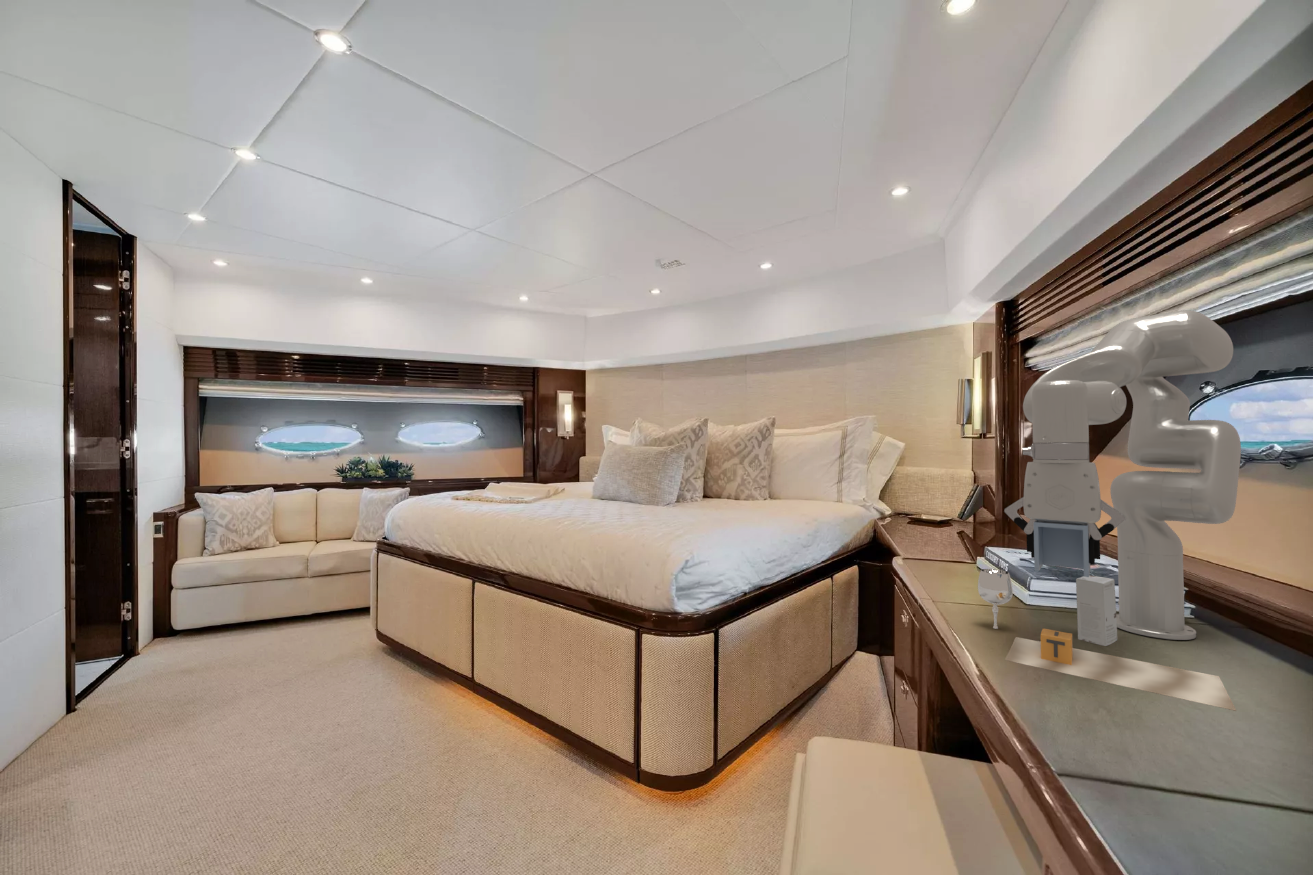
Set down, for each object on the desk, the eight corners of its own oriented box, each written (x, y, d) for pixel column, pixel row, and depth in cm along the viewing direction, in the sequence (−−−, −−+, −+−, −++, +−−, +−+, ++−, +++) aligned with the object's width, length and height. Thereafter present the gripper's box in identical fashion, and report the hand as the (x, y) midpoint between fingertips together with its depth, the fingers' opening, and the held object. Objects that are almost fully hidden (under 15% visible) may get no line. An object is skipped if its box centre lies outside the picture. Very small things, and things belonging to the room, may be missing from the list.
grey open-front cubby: (1039, 563, 93) (1038, 518, 93) (1090, 569, 88) (1089, 521, 88) (1034, 570, 87) (1033, 522, 88) (1088, 577, 83) (1087, 526, 83)
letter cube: (1043, 651, 90) (1042, 628, 91) (1072, 657, 88) (1072, 633, 88) (1040, 658, 87) (1040, 634, 87) (1071, 665, 85) (1071, 640, 85)
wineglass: (971, 630, 104) (970, 569, 104) (990, 626, 106) (990, 567, 107) (1000, 639, 99) (999, 576, 99) (1020, 635, 101) (1019, 573, 101)
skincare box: (1106, 652, 93) (1105, 583, 93) (1076, 644, 97) (1074, 578, 97) (1118, 645, 96) (1117, 578, 97) (1088, 637, 100) (1087, 574, 100)
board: (1005, 666, 87) (1005, 659, 87) (1015, 642, 97) (1015, 637, 98) (1236, 718, 70) (1236, 710, 70) (1219, 682, 81) (1218, 676, 81)
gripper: (995, 454, 91) (997, 556, 91) (1130, 454, 80) (1133, 571, 79) (1002, 453, 97) (1004, 550, 96) (1129, 454, 85) (1131, 563, 85)
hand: (1062, 559), depth 88 cm, fingers closed on grey open-front cubby, 7 cm apart
